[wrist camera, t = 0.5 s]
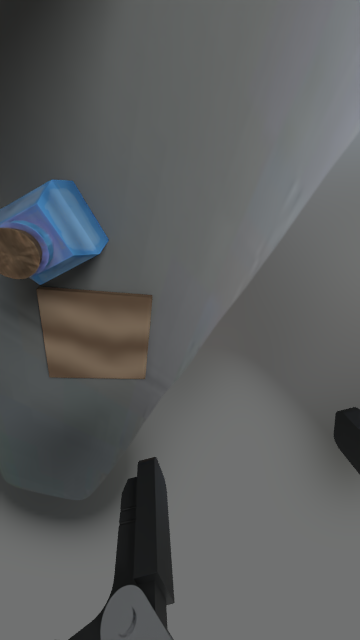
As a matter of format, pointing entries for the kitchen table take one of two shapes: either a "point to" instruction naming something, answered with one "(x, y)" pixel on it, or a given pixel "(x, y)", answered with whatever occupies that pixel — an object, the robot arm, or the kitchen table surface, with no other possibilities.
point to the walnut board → (95, 333)
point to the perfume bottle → (48, 233)
